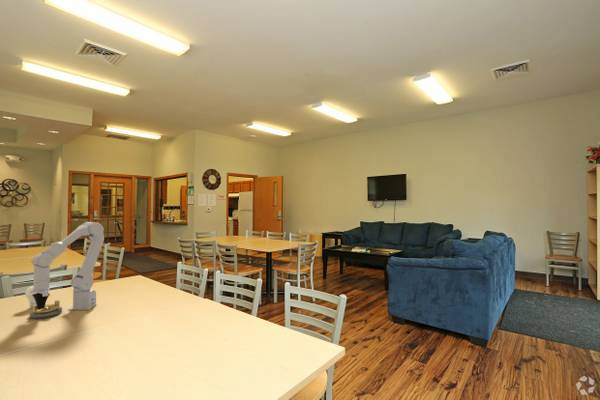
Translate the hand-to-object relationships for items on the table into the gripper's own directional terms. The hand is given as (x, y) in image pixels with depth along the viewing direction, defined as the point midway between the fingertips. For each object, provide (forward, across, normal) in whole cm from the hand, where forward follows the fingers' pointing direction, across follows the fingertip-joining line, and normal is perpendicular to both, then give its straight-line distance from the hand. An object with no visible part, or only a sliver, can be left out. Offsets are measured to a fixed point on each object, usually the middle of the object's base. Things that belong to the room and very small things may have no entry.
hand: (40, 308), depth 142 cm
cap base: (+4, -3, +3) cm, 6 cm away
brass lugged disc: (+2, -3, +3) cm, 5 cm away
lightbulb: (+4, -20, +2) cm, 21 cm away
